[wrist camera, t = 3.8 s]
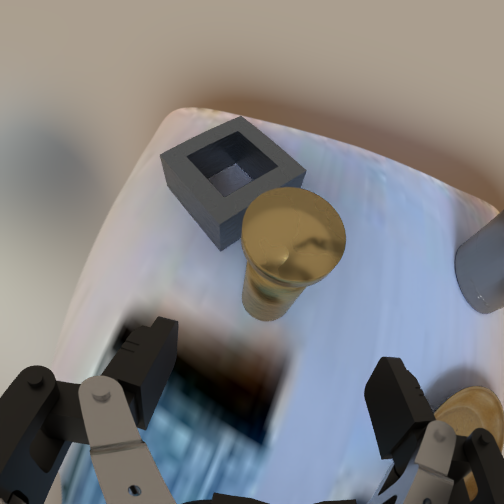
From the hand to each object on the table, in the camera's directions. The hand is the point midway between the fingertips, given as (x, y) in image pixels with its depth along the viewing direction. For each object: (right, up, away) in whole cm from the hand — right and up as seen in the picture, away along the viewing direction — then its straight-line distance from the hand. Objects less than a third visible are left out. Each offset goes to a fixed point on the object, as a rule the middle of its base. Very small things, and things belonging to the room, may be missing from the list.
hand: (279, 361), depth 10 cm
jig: (-3, +10, +17) cm, 20 cm away
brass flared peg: (0, 0, +13) cm, 13 cm away
